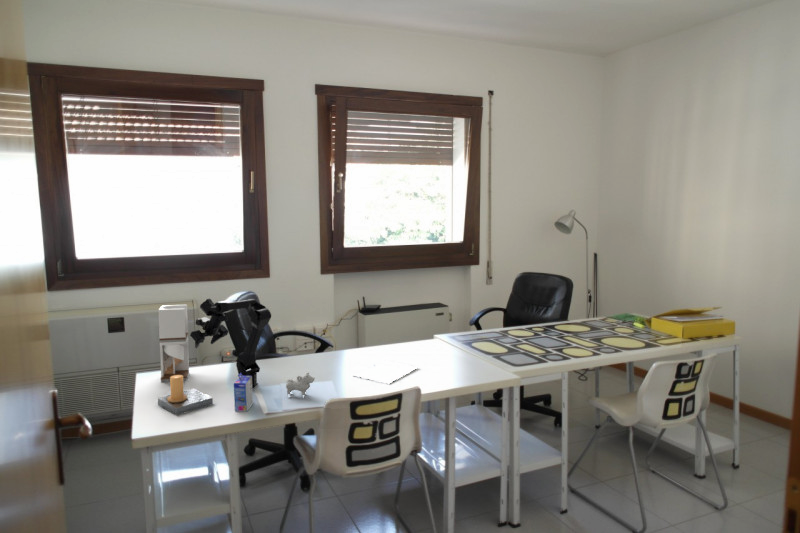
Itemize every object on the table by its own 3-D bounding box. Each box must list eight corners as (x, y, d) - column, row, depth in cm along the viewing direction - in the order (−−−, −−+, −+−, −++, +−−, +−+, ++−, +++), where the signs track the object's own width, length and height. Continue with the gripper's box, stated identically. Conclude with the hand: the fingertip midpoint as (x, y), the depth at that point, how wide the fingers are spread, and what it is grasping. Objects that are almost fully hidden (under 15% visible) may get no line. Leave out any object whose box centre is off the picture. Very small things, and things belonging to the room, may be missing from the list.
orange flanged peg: (181, 402, 224) (181, 372, 222) (190, 406, 219) (189, 376, 217) (164, 407, 218) (163, 376, 217) (173, 412, 213) (172, 381, 212)
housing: (193, 394, 232) (193, 388, 232) (212, 404, 222) (212, 397, 222) (157, 404, 220) (157, 398, 220) (176, 415, 210) (176, 408, 210)
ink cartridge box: (240, 402, 225) (239, 370, 223) (253, 402, 225) (252, 370, 223) (233, 411, 215) (233, 377, 213) (247, 411, 215) (246, 377, 213)
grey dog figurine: (313, 398, 231) (313, 375, 230) (284, 397, 232) (284, 374, 230) (315, 394, 237) (315, 371, 235) (287, 393, 237) (287, 370, 236)
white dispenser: (160, 382, 248) (158, 309, 244) (164, 375, 258) (162, 305, 254) (186, 380, 251) (184, 308, 247) (188, 373, 261) (187, 304, 257)
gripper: (220, 308, 263) (209, 331, 269) (189, 314, 247) (178, 339, 253) (233, 322, 259) (222, 345, 265) (203, 330, 243) (191, 354, 249)
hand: (203, 345), depth 258 cm, fingers open, 9 cm apart
